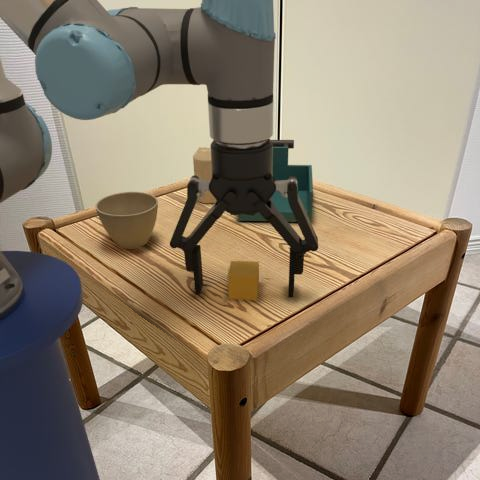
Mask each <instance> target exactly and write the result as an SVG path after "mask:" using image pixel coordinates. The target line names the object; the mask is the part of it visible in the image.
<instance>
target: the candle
mask: <svg viewBox="0 0 480 480" xmlns="http://www.w3.org/2000/svg"><path fill="white" fill-rule="evenodd" d="M192 165H193V175H196V176H198V177H199V179H204V180H211V178H212V164H211V147H198V149H197V150H196V151H195V153H194V154H193V155H192ZM216 201H217V200H216V199H215V198H214V196H213V195H212V194H211V192H210V191H209V190H206V191H205V192H204V195H203V196H202V197H198V199H197V202H199V203H203V204H214V203H215V202H216Z"/></svg>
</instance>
